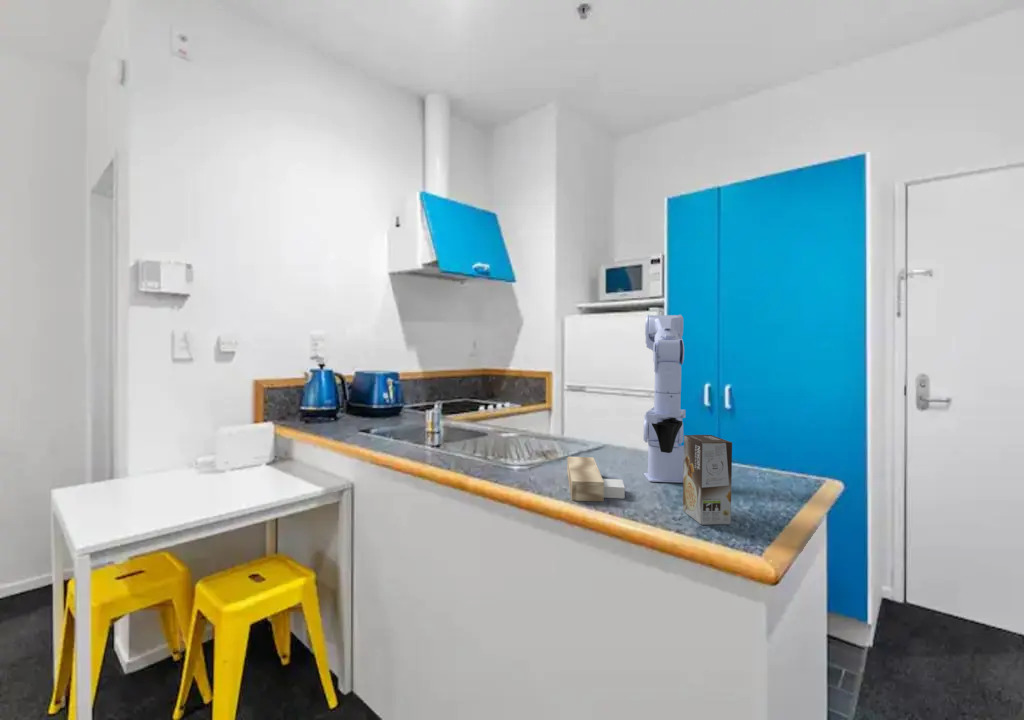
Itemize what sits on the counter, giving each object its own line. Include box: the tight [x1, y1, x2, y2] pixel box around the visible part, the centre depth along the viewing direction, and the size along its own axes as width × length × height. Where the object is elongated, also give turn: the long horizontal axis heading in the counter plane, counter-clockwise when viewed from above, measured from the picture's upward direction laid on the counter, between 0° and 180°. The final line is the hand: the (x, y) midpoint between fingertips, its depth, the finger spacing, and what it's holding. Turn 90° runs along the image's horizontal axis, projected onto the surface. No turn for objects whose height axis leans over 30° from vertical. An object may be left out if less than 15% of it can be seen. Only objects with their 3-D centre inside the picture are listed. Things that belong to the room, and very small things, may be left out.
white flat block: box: [602, 478, 626, 499], centre depth 118 cm, size 10×7×2 cm
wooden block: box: [566, 456, 605, 503], centre depth 125 cm, size 7×26×4 cm, turn 176°
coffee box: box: [682, 434, 733, 526], centre depth 102 cm, size 9×6×16 cm
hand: (666, 452), depth 115 cm, fingers closed
